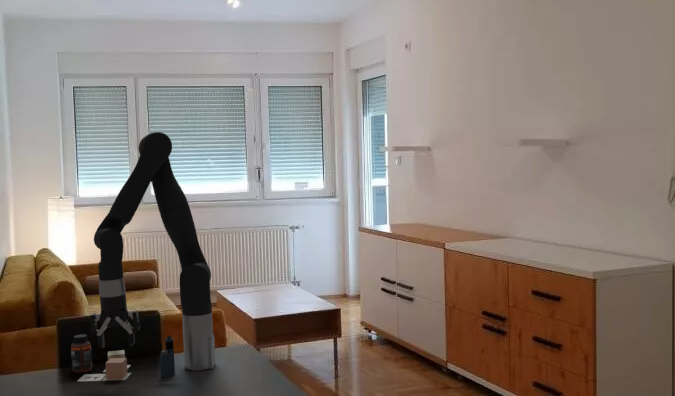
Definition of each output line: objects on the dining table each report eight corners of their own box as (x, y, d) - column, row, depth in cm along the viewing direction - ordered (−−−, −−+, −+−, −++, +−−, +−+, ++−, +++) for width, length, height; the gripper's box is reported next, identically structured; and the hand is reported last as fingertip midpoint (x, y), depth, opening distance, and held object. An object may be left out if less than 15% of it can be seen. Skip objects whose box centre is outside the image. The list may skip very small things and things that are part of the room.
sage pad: (131, 374, 235) (131, 372, 235) (125, 381, 228) (125, 379, 228) (108, 374, 235) (108, 373, 235) (102, 381, 228) (102, 380, 228)
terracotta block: (127, 373, 234) (126, 357, 234) (123, 378, 229) (122, 362, 229) (111, 374, 234) (110, 358, 234) (106, 379, 229) (105, 363, 229)
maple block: (125, 365, 244) (124, 350, 244) (125, 369, 239) (124, 354, 239) (108, 367, 242) (108, 351, 242) (108, 371, 238) (107, 355, 237)
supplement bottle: (95, 368, 243) (93, 333, 242) (87, 373, 237) (85, 337, 237) (77, 368, 244) (75, 333, 243) (69, 373, 238) (67, 338, 237)
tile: (131, 366, 244) (131, 364, 244) (125, 372, 237) (125, 371, 237) (109, 366, 244) (109, 365, 244) (102, 373, 237) (102, 372, 237)
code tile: (107, 374, 235) (107, 373, 235) (100, 381, 228) (100, 380, 228) (84, 375, 235) (84, 374, 235) (76, 382, 228) (76, 381, 228)
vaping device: (176, 374, 234) (175, 335, 233) (166, 379, 229) (164, 339, 228) (169, 373, 235) (168, 335, 234) (159, 378, 230) (157, 339, 229)
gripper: (139, 289, 233) (143, 341, 235) (92, 292, 233) (96, 345, 234) (133, 294, 226) (138, 348, 227) (85, 297, 226) (89, 351, 227)
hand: (117, 346), depth 231 cm, fingers open, 8 cm apart
